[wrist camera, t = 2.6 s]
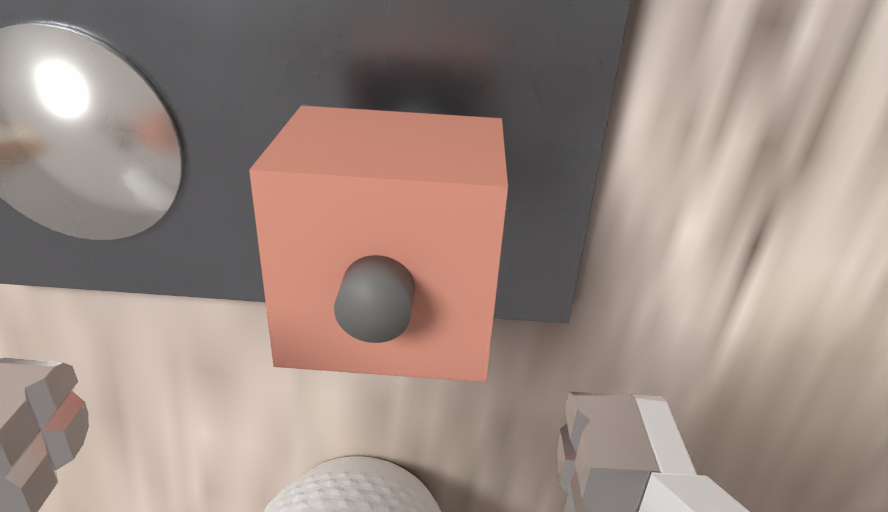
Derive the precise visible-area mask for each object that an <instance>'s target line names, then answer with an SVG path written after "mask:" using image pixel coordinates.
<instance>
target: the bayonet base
mask: <svg viewBox="0 0 888 512" xmlns="http://www.w3.org/2000/svg"><path fill="white" fill-rule="evenodd" d="M630 1H631V0H0V284H14V285H29V286H43V287H58V288H72V289H86V290H101V291H115V292H129V293H144V294H158V295H172V296H187V297H201V298H215V299H230V300H244V301H258V302H266V301H265V293H264V285H263V277H262V269H261V261H260V252H259V244H258V236H257V228H256V220H255V212H254V204H253V196H252V188H251V180H250V172H249V170H250V168H251V167H252V166H253V165H254V163H255V162H256V161H257V160H258V158H259V157H260V156H261V155H262V154H263V152H264V151H265V150H266V149H267V147H268V146H269V145H270V144H271V142H272V141H273V140H274V139H275V137H276V136H277V135H278V134H279V132H280V131H281V130H282V129H283V127H284V126H285V125H286V124H287V122H288V121H289V120H290V119H291V118H292V116H293V115H294V114H295V113H296V111H297V110H298V109H299V108H300V106H317V107H332V108H348V109H363V110H379V111H395V112H410V113H426V114H442V115H457V116H473V117H488V118H502V126H503V137H504V148H505V159H506V170H507V181H508V191H507V200H506V209H505V218H504V227H503V236H502V245H501V254H500V263H499V272H498V280H497V289H496V298H495V307H494V316H493V318H502V319H517V320H531V321H545V322H560V323H569V318H570V313H571V308H572V303H573V297H574V292H575V287H576V282H577V277H578V271H579V266H580V261H581V256H582V251H583V245H584V240H585V235H586V230H587V225H588V219H589V214H590V209H591V204H592V199H593V193H594V188H595V183H596V178H597V173H598V167H599V162H600V157H601V152H602V146H603V141H604V136H605V131H606V126H607V120H608V115H609V110H610V105H611V100H612V94H613V89H614V84H615V79H616V74H617V68H618V63H619V58H620V53H621V48H622V42H623V37H624V32H625V27H626V22H627V16H628V11H629V6H630Z"/></svg>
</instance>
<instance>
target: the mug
mask: <svg viewBox="0 0 888 512" xmlns="http://www.w3.org/2000/svg"><path fill="white" fill-rule="evenodd" d="M263 512H441V510H440V508H439V506H438V504H437V502H436V501H435V499H434V498H433V496H432V495H431V493H430V492H429V491H428V489H427V488H426V487H425V486H424V484H423V483H422V482H421V481H420V480H419V479H418V478H416V477H415V476H414V475H413V474H411V473H410V472H408V471H407V470H405V469H403V468H401V467H400V466H398V465H396V464H394V463H391V462H389V461H385V460H381V459H377V458H372V457H365V456H350V457H342V458H337V459H333V460H329V461H326V462H324V463H321V464H319V465H317V466H315V467H313V468H312V469H310V470H308V471H307V472H305V473H304V474H302V475H301V476H299V477H298V478H297V479H295V480H294V481H293V482H292V483H290V484H289V485H288V486H287V487H286V488H284V489H283V490H282V491H281V492H280V494H279V495H277V496H276V497H274V498H273V500H272V501H271V502H270V503H269V504H268V505H267V507H266V509H265V510H264V511H263Z"/></svg>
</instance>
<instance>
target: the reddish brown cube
mask: <svg viewBox="0 0 888 512" xmlns="http://www.w3.org/2000/svg"><path fill="white" fill-rule="evenodd" d="M249 172H250V180H251V188H252V196H253V204H254V212H255V220H256V228H257V236H258V244H259V252H260V261H261V269H262V277H263V285H264V293H265V301H266V309H267V317H268V325H269V333H270V341H271V349H272V358H273V366H274V367H283V368H297V369H311V370H325V371H338V372H352V373H366V374H380V375H394V376H408V377H422V378H436V379H450V380H464V381H478V382H486V378H487V369H488V360H489V352H490V343H491V334H492V325H493V316H494V307H495V298H496V289H497V280H498V272H499V263H500V254H501V245H502V236H503V227H504V218H505V209H506V200H507V191H508V181H507V170H506V159H505V148H504V137H503V126H502V118H488V117H473V116H457V115H442V114H426V113H410V112H395V111H379V110H363V109H348V108H332V107H317V106H300V108H299V109H298V110H297V111H296V113H295V114H294V115H293V116H292V118H291V119H290V120H289V121H288V122H287V124H286V125H285V126H284V127H283V129H282V130H281V131H280V132H279V134H278V135H277V136H276V137H275V139H274V140H273V141H272V142H271V144H270V145H269V146H268V147H267V149H266V150H265V151H264V152H263V154H262V155H261V156H260V157H259V158H258V160H257V161H256V162H255V163H254V165H253V166H252V167H251V168H250V170H249Z"/></svg>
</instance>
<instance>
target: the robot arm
mask: <svg viewBox="0 0 888 512" xmlns="http://www.w3.org/2000/svg"><path fill="white" fill-rule="evenodd" d="M77 383H78V380H77V377H76V374H75V372H74V369H73V367H72V366H71V365H68V364H65V363H61V362H48V361H36V360H24V359H12V358H3V359H1V358H0V512H38V511H39V509H40V508H41V506H42V505H43V503H44V502H45V500H46V499H47V498H48V496H49V495H50V493H51V492H52V490H53V489H54V487H55V486H56V484H57V483H58V479H57V472H56V470H57V469H59V468H61V467H62V466H64V465H65V464H67V463H69V462H70V461H72V460H74V458H75V457H76V455H77V453H78V452H79V450H80V449H81V447H82V446H83V444H84V440H85V437H86V434H87V431H88V427H89V423H88V411H87V407H86V404H85V402H84V401H83V400H82V399H81V398H80V397H78V396H77V395H76V394H75V393H74V392H73V389H74V387H75V386H76V384H77ZM564 410H565V416H566V421H567V424H566V425H565V426H564V427H562V428H561V429H560V433H559V439H558V446H557V470H558V478H559V485H560V488H561V489H562V490H563V491H564V492H565V493H566V494H567V498H566V503H565V507H564V512H750V511H748V510H747V509H746V508H745V507H744V506H742V505H741V504H740V503H739V502H738V501H736V500H735V499H734V498H733V497H732V496H730V495H729V494H728V493H727V492H726V491H724V490H723V489H722V488H721V487H720V486H718V485H717V484H716V483H715V482H714V481H713V480H711V479H710V478H709V477H708V476H703V475H697V473H696V471H695V468H694V466H693V463H692V461H691V459H690V456H689V454H688V451H687V449H686V446H685V444H684V442H683V439H682V437H681V434H680V432H679V430H678V427H677V425H676V422H675V420H674V418H673V415H672V413H671V410H670V408H669V406H668V403H667V401H666V399H664V398H663V397H662V396H658V395H633V394H631V395H625V394H605V393H585V392H570V393H569V395H568V397H567V400H566V404H565V409H564Z"/></svg>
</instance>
